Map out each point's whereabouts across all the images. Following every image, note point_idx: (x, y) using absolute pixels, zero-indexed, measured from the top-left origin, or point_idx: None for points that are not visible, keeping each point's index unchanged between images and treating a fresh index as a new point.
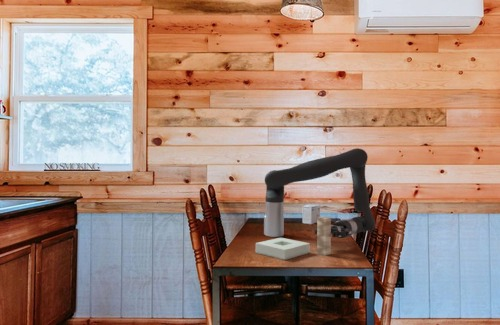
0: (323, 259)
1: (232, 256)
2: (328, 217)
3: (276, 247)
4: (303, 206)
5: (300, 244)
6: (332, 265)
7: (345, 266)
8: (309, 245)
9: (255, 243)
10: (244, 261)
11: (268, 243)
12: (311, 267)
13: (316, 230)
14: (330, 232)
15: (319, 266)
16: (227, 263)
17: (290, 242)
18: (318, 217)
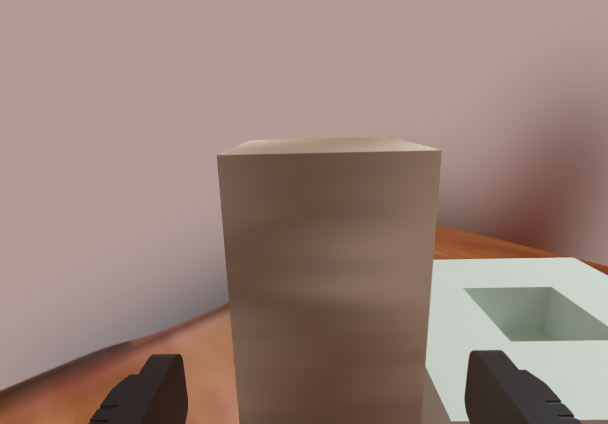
0: (232, 420)
1: (519, 254)
2: (275, 152)
3: (438, 263)
4: None
5: (446, 349)
6: (139, 365)
7: (55, 392)
8: None
9: (573, 259)
10: (438, 250)
11: (548, 276)
12: (224, 305)
13: (473, 365)
14: (242, 418)
15: (198, 326)
16: (439, 232)
17: (547, 346)
18: (392, 138)
